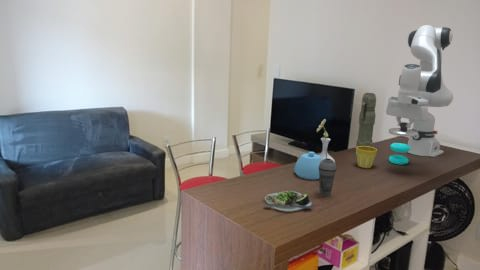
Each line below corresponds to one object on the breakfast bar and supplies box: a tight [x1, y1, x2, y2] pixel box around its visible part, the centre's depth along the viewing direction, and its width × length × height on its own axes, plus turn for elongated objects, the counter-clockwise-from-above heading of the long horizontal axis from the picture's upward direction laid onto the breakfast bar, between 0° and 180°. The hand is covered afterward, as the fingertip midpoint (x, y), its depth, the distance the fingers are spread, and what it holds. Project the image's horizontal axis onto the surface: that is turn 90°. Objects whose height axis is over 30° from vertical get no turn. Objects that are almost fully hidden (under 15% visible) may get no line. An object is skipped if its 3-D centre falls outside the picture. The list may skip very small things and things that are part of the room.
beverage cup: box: [318, 147, 337, 197], centre depth 151 cm, size 7×7×20 cm
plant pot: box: [355, 146, 378, 169], centre depth 189 cm, size 10×10×10 cm
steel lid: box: [388, 121, 418, 138], centre depth 178 cm, size 13×13×5 cm
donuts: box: [388, 142, 410, 166], centre depth 197 cm, size 10×10×10 cm
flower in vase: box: [316, 118, 336, 163], centre depth 188 cm, size 13×11×25 cm
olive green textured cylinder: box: [355, 92, 377, 148], centre depth 212 cm, size 9×12×35 cm
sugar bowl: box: [293, 151, 322, 181], centre depth 174 cm, size 15×15×12 cm
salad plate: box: [264, 190, 314, 213], centre depth 142 cm, size 19×18×5 cm
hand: (403, 126), depth 177 cm, fingers closed on steel lid, 3 cm apart
